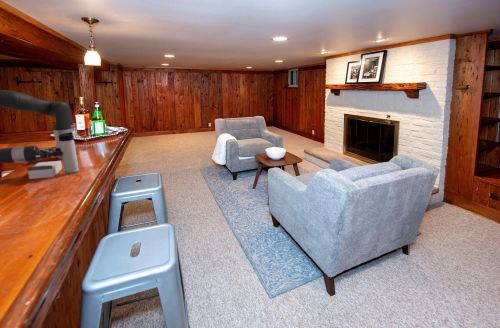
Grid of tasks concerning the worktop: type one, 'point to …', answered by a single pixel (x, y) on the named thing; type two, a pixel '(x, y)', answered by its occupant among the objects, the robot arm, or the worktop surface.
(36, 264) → the worktop surface
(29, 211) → the worktop surface
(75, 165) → the travel mug
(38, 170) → the dock
